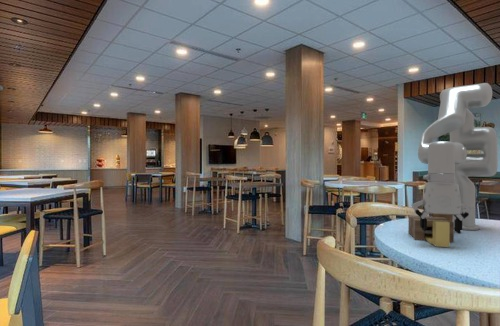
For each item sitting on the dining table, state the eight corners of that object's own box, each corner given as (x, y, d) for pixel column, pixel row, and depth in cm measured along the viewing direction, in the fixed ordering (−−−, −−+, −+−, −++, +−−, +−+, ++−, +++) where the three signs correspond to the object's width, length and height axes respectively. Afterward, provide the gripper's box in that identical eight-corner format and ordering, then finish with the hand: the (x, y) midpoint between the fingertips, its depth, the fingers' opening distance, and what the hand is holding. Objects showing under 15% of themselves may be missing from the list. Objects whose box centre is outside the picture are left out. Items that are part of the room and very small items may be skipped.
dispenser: (408, 233, 118) (408, 215, 118) (443, 235, 115) (443, 217, 115) (415, 240, 108) (415, 220, 108) (454, 242, 105) (454, 222, 105)
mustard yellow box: (419, 234, 116) (419, 213, 116) (434, 235, 115) (434, 214, 115) (433, 246, 100) (433, 221, 100) (451, 247, 98) (451, 222, 98)
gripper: (415, 178, 99) (414, 231, 99) (476, 180, 94) (476, 235, 94) (409, 178, 106) (408, 227, 106) (466, 179, 102) (466, 231, 101)
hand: (440, 231), depth 100 cm, fingers open, 9 cm apart
